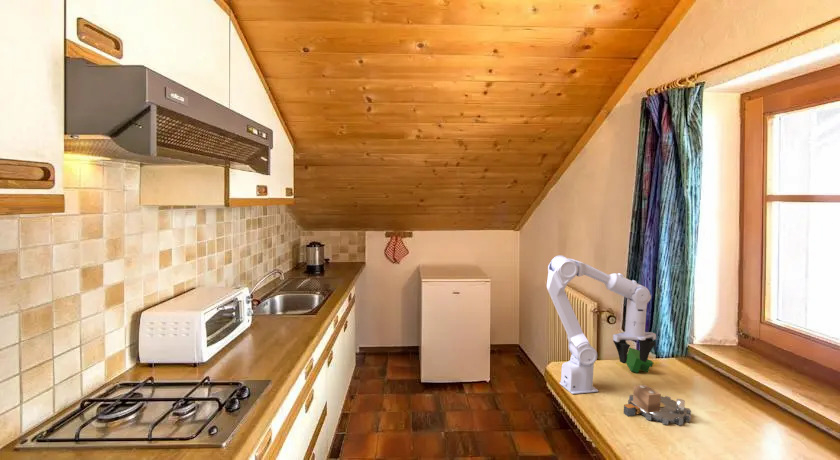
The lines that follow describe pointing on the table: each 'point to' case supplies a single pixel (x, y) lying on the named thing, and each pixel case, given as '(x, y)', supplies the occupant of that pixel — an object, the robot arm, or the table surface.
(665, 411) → the sprocket disc
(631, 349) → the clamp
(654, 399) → the link block
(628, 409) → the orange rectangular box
